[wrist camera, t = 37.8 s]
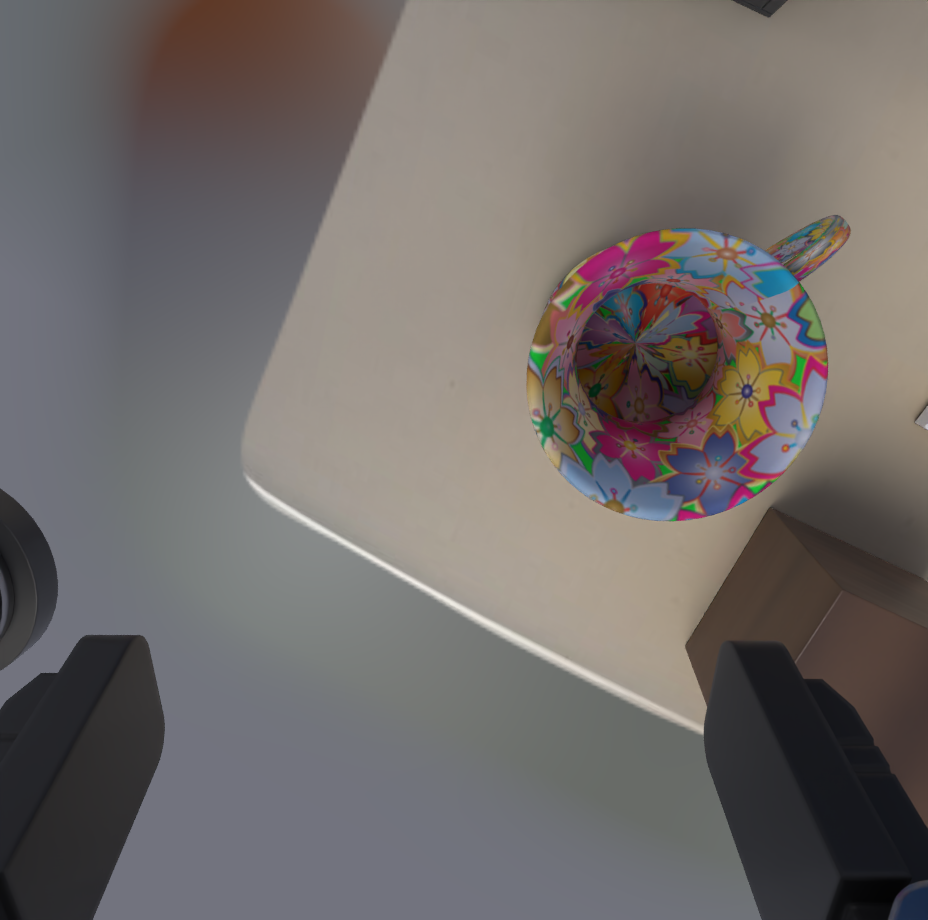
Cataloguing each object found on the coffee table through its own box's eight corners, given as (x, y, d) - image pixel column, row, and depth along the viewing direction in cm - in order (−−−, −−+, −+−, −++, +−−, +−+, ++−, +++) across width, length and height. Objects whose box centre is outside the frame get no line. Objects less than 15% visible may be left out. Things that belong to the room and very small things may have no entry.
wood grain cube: (684, 646, 39) (727, 763, 30) (769, 506, 37) (842, 588, 28) (830, 714, 39) (915, 848, 30) (923, 579, 37) (1043, 682, 28)
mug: (617, 483, 37) (650, 576, 27) (485, 332, 36) (466, 368, 25) (839, 310, 34) (970, 339, 24) (704, 137, 33) (782, 90, 22)
